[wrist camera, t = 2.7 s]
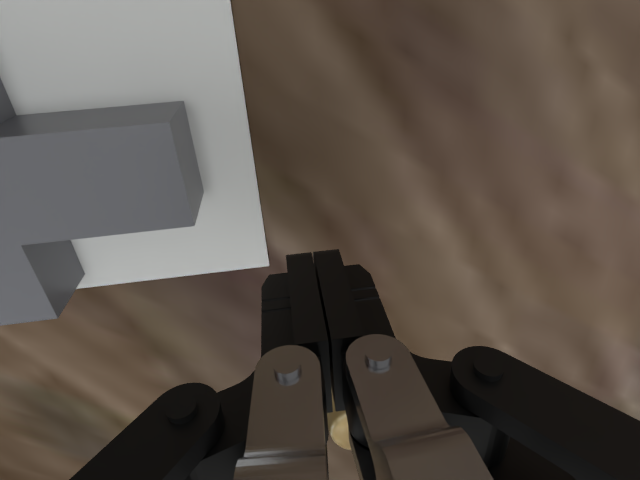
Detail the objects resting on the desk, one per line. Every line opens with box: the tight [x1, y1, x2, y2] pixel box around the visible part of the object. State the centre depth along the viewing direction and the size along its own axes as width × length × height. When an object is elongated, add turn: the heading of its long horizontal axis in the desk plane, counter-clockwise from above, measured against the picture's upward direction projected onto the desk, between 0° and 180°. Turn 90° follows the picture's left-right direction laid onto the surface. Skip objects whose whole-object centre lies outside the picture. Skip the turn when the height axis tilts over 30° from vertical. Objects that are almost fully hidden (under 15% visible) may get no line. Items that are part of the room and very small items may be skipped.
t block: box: [0, 78, 204, 325], centre depth 20 cm, size 14×12×4 cm
